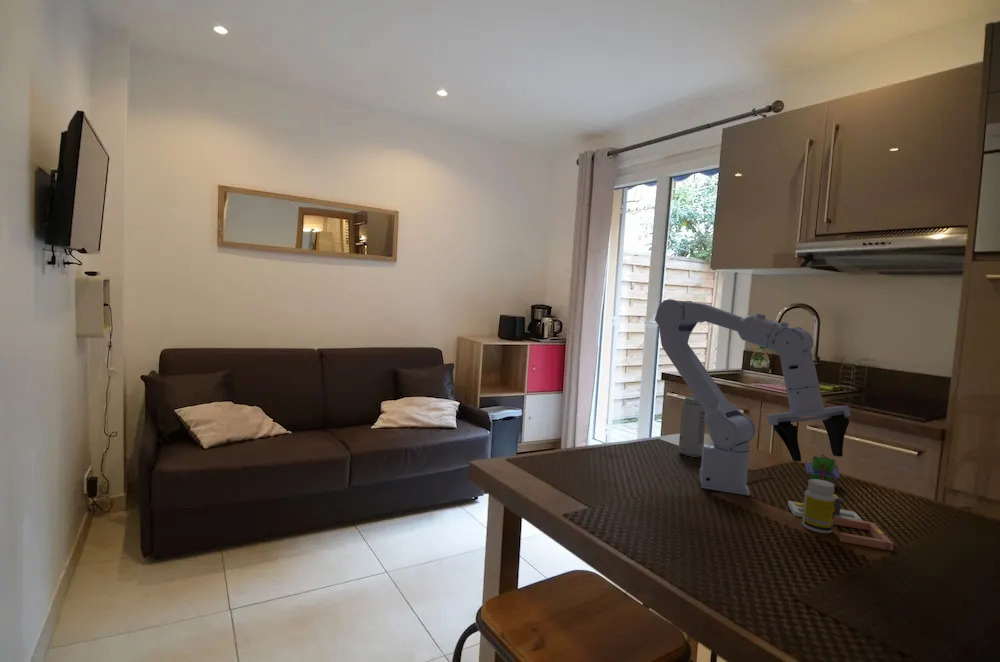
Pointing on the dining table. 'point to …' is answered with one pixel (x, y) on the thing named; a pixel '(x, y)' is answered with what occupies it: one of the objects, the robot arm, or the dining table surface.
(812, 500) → the supplement bottle
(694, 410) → the energy drink can
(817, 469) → the geometric puzzle
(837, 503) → the block
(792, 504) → the panel
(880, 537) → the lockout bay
